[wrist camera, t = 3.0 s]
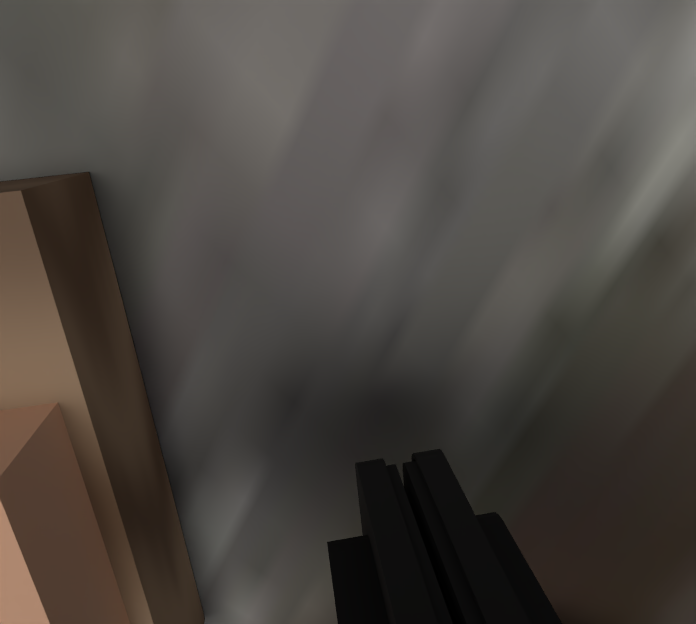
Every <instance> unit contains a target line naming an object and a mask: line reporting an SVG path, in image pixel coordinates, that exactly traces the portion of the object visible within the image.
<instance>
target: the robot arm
mask: <svg viewBox="0 0 696 624" xmlns="http://www.w3.org/2000/svg"><path fill="white" fill-rule="evenodd" d="M355 468H356V477H357V487H358V496H359V505H360V514H361V523H362V532H363V536H359V537H353V538H347V539H342V540H336V541H331V542H327V544H328V552H329V559H330V567H331V574H332V582H333V589H334V597H335V604H336V612H337V619H338V624H562V623H561V621H560V619H559V618H558V616H557V614H556V612H555V611H554V609H553V607H552V605H551V604H550V602H549V600H548V598H547V597H546V595H545V593H544V591H543V590H542V588H541V586H540V584H539V583H538V581H537V579H536V577H535V576H534V574H533V572H532V570H531V569H530V567H529V565H528V564H527V562H526V560H525V558H524V557H523V555H522V553H521V551H520V550H519V548H518V546H517V544H516V543H515V541H514V539H513V537H512V536H511V534H510V532H509V530H508V529H507V527H506V525H505V523H504V522H503V520H502V519H501V517H500V516H499V515H498V514H497V513H496V512H492V513H487V514H481V515H476V516H475V514H474V512H473V510H472V508H471V506H470V504H469V502H468V500H467V498H466V496H465V494H464V493H463V491H462V489H461V487H460V485H459V483H458V481H457V479H456V477H455V475H454V473H453V471H452V469H451V467H450V465H449V463H448V461H447V459H446V457H445V455H444V453H443V452H442V450H440V449H437V450H431V451H425V452H419V453H413V454H412V462H406V463H403V477H404V486H403V483H402V481H401V478H400V475H399V472H398V470H397V467H396V465H395V464H394V465H388V466H386V464H385V461H384V459H377V460H371V461H365V462H359V463H356V464H355Z"/></svg>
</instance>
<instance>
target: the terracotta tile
mask: <svg viewBox="0 0 696 624" xmlns="http://www.w3.org/2000/svg"><path fill="white" fill-rule="evenodd" d="M0 624H130V621H129V618H128V615H127V612H126V609H125V606H124V603H123V600H122V597H121V594H120V591H119V588H118V585H117V581H116V578H115V575H114V572H113V569H112V566H111V563H110V560H109V557H108V554H107V551H106V548H105V545H104V542H103V539H102V536H101V532H100V529H99V526H98V523H97V520H96V517H95V514H94V511H93V508H92V505H91V502H90V499H89V496H88V493H87V490H86V487H85V484H84V480H83V477H82V474H81V471H80V468H79V465H78V462H77V459H76V456H75V453H74V450H73V447H72V444H71V441H70V438H69V435H68V432H67V428H66V425H65V422H64V419H63V416H62V413H61V410H60V407H59V404H58V402H56V403H49V404H42V405H35V406H28V407H21V408H14V409H7V410H0Z"/></svg>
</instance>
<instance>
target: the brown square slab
mask: <svg viewBox="0 0 696 624" xmlns="http://www.w3.org/2000/svg"><path fill="white" fill-rule="evenodd" d="M56 402H58V404H59V407H60V410H61V413H62V416H63V419H64V422H65V425H66V428H67V432H68V435H69V438H70V441H71V444H72V447H73V450H74V453H75V456H76V459H77V462H78V465H79V468H80V471H81V474H82V477H83V480H84V484H85V487H86V490H87V493H88V496H89V499H90V502H91V505H92V508H93V511H94V514H95V517H96V520H97V523H98V526H99V529H100V532H101V536H102V539H103V542H104V545H105V548H106V551H107V554H108V557H109V560H110V563H111V566H112V569H113V572H114V575H115V578H116V581H117V585H118V588H119V591H120V594H121V597H122V600H123V603H124V606H125V609H126V612H127V615H128V618H129V621H130V624H204V621H205V618H204V614H203V610H202V606H201V602H200V598H199V594H198V591H197V587H196V583H195V579H194V575H193V571H192V567H191V564H190V560H189V556H188V552H187V548H186V544H185V540H184V537H183V533H182V529H181V525H180V521H179V517H178V513H177V510H176V506H175V502H174V498H173V494H172V490H171V486H170V483H169V479H168V475H167V471H166V467H165V463H164V460H163V456H162V452H161V448H160V444H159V440H158V436H157V433H156V429H155V425H154V421H153V417H152V413H151V409H150V406H149V402H148V398H147V394H146V390H145V386H144V382H143V379H142V375H141V371H140V367H139V363H138V359H137V355H136V352H135V348H134V344H133V340H132V336H131V332H130V328H129V325H128V321H127V317H126V313H125V309H124V305H123V301H122V298H121V294H120V290H119V286H118V282H117V278H116V274H115V271H114V267H113V263H112V259H111V255H110V251H109V248H108V244H107V240H106V236H105V232H104V228H103V224H102V221H101V217H100V213H99V209H98V205H97V201H96V197H95V194H94V190H93V186H92V182H91V178H90V174H89V172H84V173H75V174H66V175H57V176H48V177H39V178H29V179H20V180H11V181H2V182H0V410H7V409H14V408H21V407H28V406H35V405H42V404H49V403H56Z"/></svg>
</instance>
